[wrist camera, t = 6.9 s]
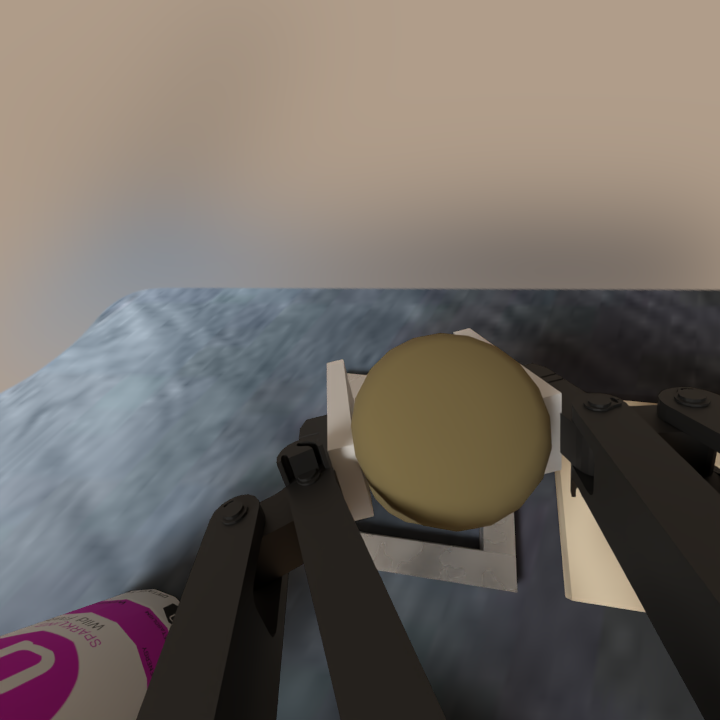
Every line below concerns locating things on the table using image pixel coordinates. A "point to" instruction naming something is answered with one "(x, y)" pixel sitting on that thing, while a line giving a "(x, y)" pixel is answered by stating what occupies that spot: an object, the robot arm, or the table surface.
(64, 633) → the supplement can
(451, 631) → the table surface
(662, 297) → the table surface
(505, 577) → the shaker dock
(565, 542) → the birch board
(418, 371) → the cork
